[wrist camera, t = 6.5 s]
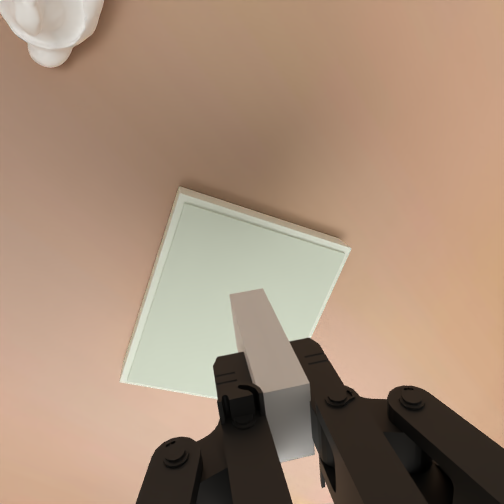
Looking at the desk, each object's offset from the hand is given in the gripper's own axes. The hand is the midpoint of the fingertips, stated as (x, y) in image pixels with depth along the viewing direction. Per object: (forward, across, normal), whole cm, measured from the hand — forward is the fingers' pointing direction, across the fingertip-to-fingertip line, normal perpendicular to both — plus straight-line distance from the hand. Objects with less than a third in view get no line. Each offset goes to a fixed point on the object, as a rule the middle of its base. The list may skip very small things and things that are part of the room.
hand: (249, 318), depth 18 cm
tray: (+15, 0, -7) cm, 17 cm away
